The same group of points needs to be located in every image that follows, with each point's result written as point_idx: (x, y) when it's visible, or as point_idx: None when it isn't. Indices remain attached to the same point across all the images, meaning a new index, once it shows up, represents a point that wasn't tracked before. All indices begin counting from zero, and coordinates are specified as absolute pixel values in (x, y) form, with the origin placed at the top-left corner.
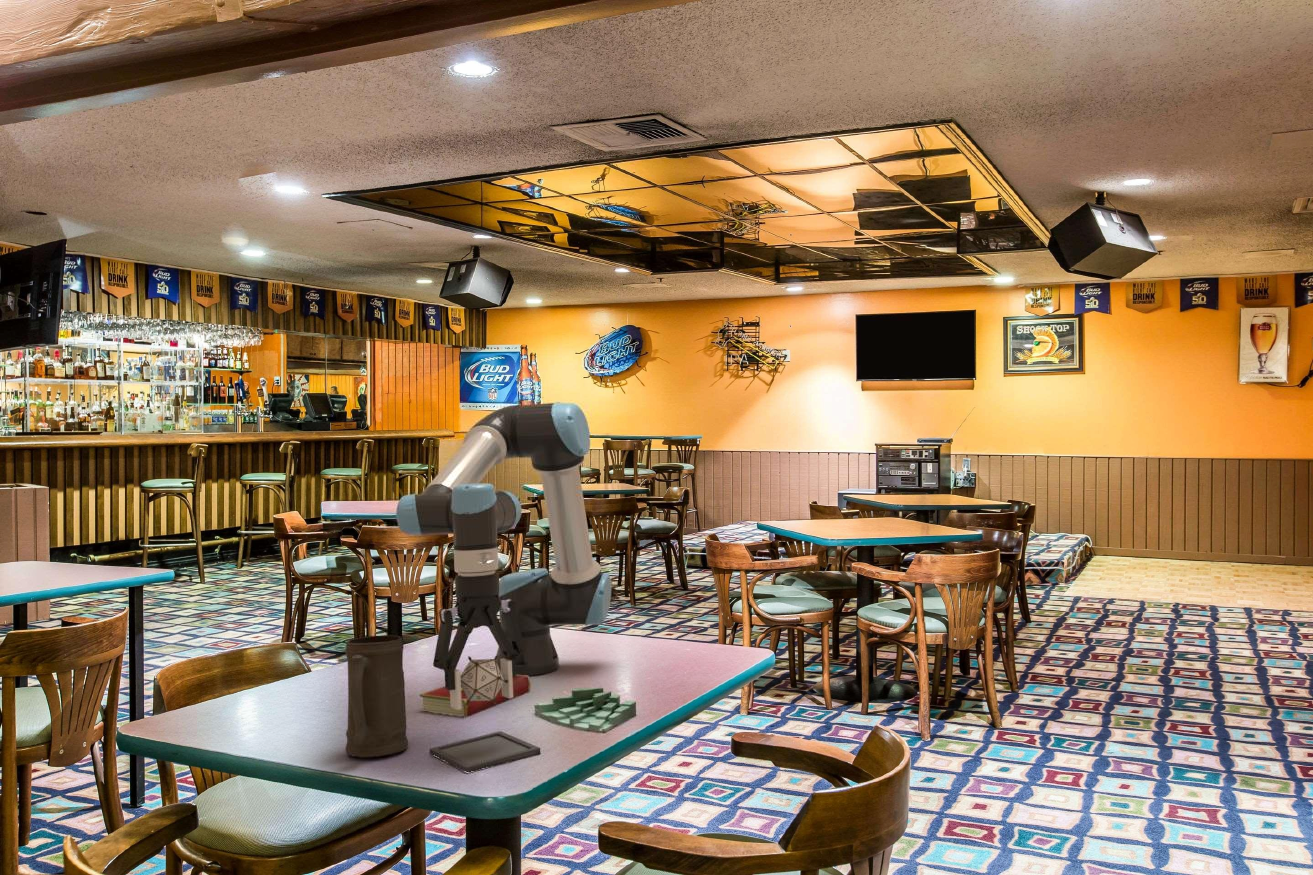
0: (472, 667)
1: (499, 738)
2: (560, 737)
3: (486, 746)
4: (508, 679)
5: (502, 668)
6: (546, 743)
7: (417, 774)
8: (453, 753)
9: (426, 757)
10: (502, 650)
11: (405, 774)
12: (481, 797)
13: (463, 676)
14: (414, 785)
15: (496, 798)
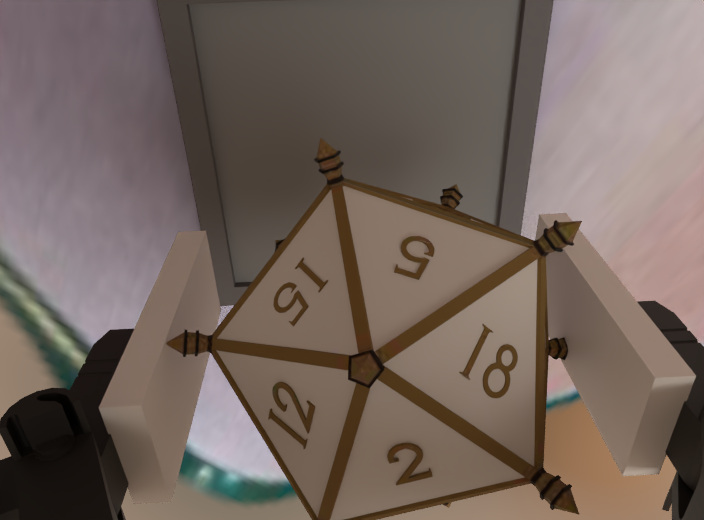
0: (297, 476)
1: (498, 40)
2: (689, 168)
3: (393, 110)
4: (566, 366)
5: (611, 346)
6: (601, 196)
7: (57, 193)
8: (239, 97)
9: (133, 8)
10: (700, 477)
11: (11, 163)
12: (189, 456)
13: (238, 385)
14: (31, 285)
15: (219, 477)
